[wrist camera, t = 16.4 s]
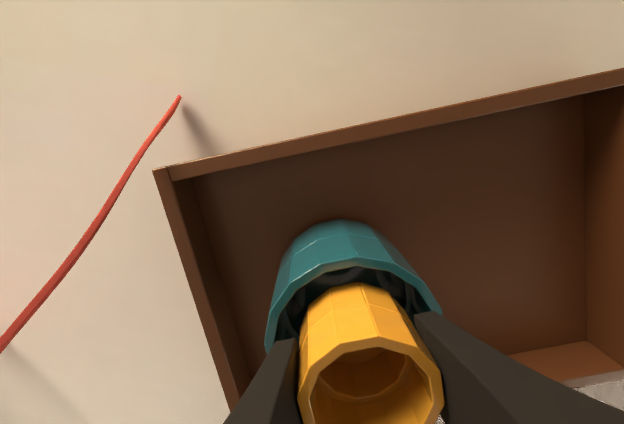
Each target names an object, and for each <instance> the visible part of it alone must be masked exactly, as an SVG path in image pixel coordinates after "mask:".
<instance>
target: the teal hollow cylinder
mask: <svg viewBox="0 0 624 424" xmlns="http://www.w3.org/2000/svg"><path fill="white" fill-rule="evenodd" d="M354 282H362V283H366V284H369V285H372V286H376V287H379V288H382V289H385V290H386V291H388V292H389V293H390V294H391V295H392V296H393V297H394V298H395V299H396V301H397V302H398V303H399V304H400V305H401V306H402V307H403V308H404V310H405V312H406V313H407V315H408V317H409V319H410V320H411V322H412V324H413V325H414V327H415V322H414V314H420V313H425V312H430V311H435V312H437V313H438V314H440V315H442V316H443V313H442V309H441V306H440V305H439V303H438V302H437V300H436V299H435V297H434V296H433V294H432V293H431V291H430V290H429V288H428V286H427V285H426V283H425V282H424V281H423V279H422V278H421V277H420V276H419V275H418V273H417V272H416V271H415V270H414V269H413V268H412V266H411V265H410V264H409V263H408V262H407V260H406V259H405V258H404V257H403V256H402V255H401V253H400V252H399V251H398V250H397V249H396V247H395V246H394V245H393V244H392V243H391V241H390V240H389V239H388V238H387V237H386V236H385V235H384V234H382V233H381V232H379V231H377V230H376V229H374V228H373V227H371V226H370V225H368V224H365V223H363V222H357V221H351V220H346V219H337V220H332V221H327V222H322V223H317V224H315V225H313V226H312V227H310V228H309V229H307V230H306V231H304V232H303V233H301V234H300V235H298V236H297V237H296V238H295V239H294V240H293V241H292V243H291V244H290V246H289V247H288V249H287V250H286V252H285V253H284V255H283V256H282V259H281V262H280V267H279V271H278V276H277V280H276V285H275V289H274V293H273V298H272V302H271V307H270V311H269V316H268V322H267V328H266V334H265V340H264V346H265V349H266V353H267V355H268V353H269V351H270V350H271V348H272V346H273V345H274V343H275V342H276V341H281V340H286V339H291V338H296V342H297V346H298V350H299V340H300V327H301V324H302V321H303V319H304V316H305V313H306V310H307V307H308V306H309V305H310V304H311V303H312V302H313V301H314V300H315V299H317V298H318V297H319V296H320V295H321V294H323V293H324V292H325V291H326V290H328V289H329V288H331V287H334V286H339V285H344V284H349V283H354ZM415 329H416V328H415Z"/></svg>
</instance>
